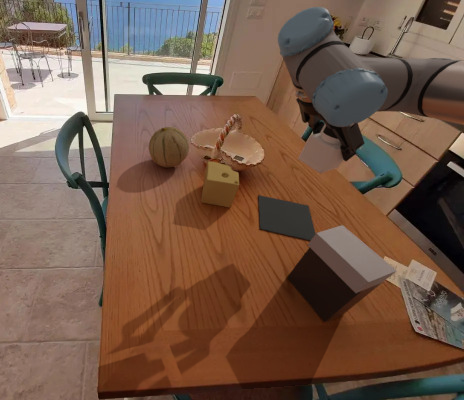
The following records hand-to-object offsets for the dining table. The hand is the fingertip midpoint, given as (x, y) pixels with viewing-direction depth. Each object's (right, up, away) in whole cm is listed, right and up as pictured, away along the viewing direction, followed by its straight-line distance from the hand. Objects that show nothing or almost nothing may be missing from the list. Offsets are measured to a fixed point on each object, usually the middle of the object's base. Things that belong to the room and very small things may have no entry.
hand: (335, 147), depth 68 cm
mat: (-4, -19, +17) cm, 25 cm away
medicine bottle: (-3, -4, +2) cm, 6 cm away
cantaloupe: (-40, +1, +36) cm, 53 cm away
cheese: (-24, -12, +23) cm, 35 cm away
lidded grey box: (-8, -36, -3) cm, 37 cm away
